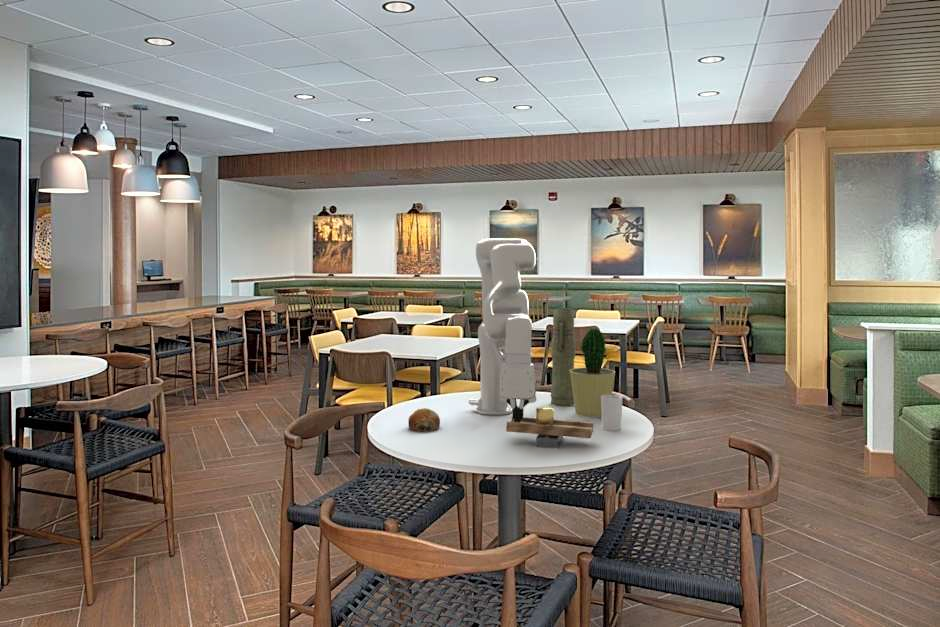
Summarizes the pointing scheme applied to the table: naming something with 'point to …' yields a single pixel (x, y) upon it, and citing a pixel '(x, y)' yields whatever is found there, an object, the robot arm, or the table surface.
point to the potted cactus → (591, 376)
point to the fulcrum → (548, 441)
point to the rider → (544, 415)
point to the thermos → (562, 357)
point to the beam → (552, 428)
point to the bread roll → (424, 420)
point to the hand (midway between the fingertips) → (517, 421)
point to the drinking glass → (611, 412)
